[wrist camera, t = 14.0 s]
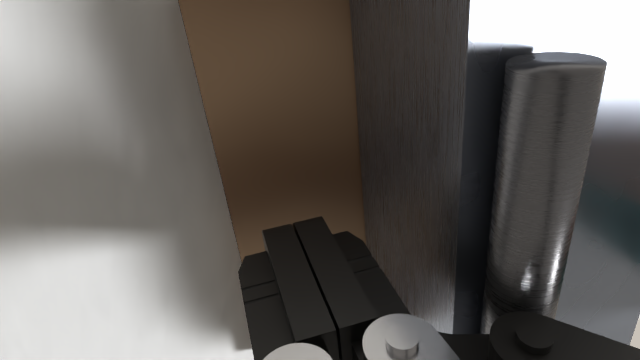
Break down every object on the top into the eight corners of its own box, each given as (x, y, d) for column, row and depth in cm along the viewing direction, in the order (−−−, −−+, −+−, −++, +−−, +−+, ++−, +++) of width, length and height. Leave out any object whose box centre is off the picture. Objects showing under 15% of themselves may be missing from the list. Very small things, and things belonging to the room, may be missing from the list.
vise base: (178, -5, 10) (173, 30, 5) (736, -80, 14) (1077, -105, 8) (263, 348, 16) (301, 532, 11) (642, 235, 19) (811, 336, 14)
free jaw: (347, -24, 10) (537, -7, 5) (545, -51, 11) (888, -63, 6) (372, 341, 16) (471, 539, 10) (502, 301, 17) (653, 462, 11)
